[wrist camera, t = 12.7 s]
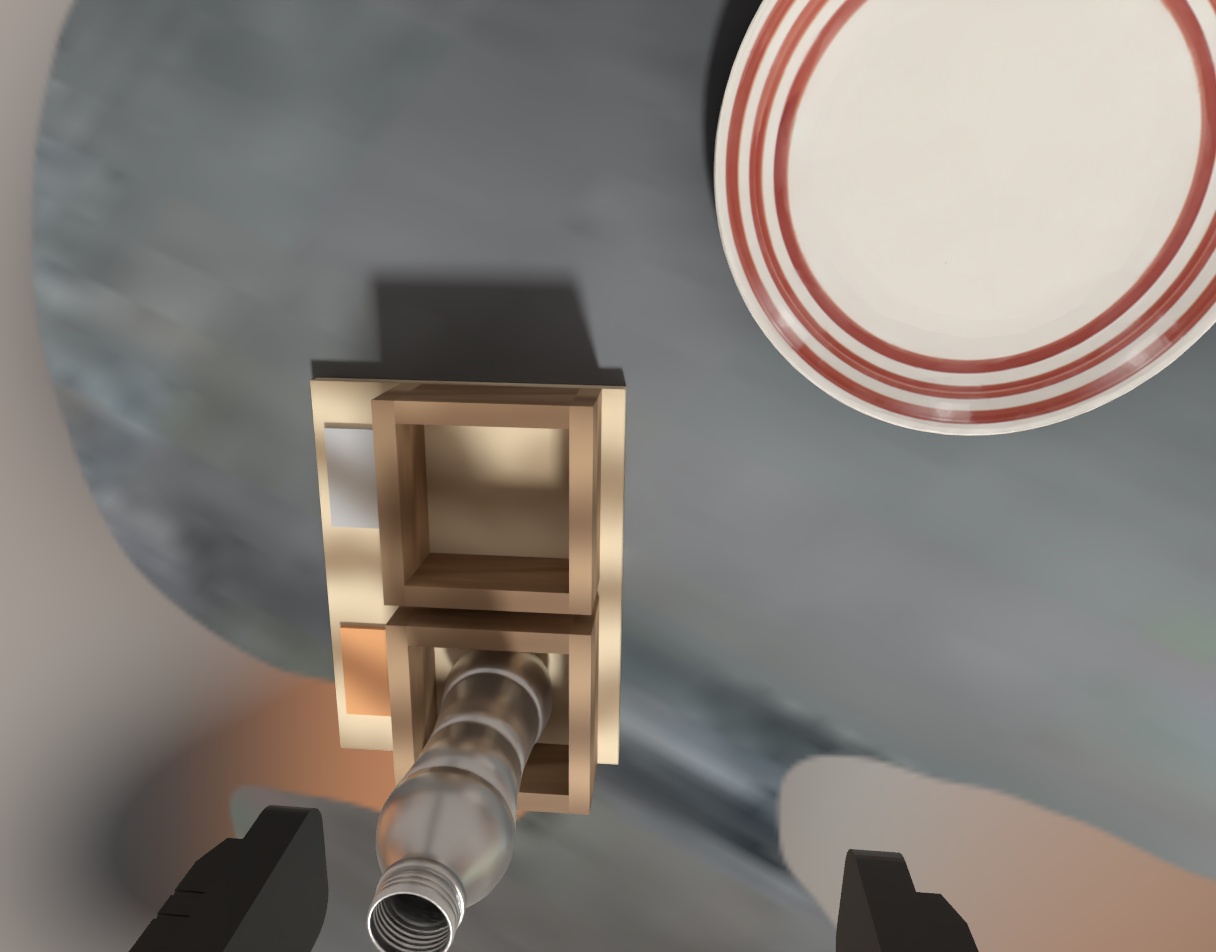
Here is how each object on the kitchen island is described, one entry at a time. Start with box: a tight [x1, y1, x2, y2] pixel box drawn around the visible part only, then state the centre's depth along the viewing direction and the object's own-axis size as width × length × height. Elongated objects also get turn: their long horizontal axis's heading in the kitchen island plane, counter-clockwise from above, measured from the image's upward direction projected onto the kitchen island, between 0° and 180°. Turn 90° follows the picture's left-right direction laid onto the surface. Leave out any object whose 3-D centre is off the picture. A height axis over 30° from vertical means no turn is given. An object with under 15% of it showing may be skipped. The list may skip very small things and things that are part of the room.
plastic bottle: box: [367, 649, 552, 952], centre depth 44 cm, size 6×7×20 cm
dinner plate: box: [714, 0, 1216, 435], centre depth 43 cm, size 27×27×3 cm
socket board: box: [310, 378, 626, 815], centre depth 50 cm, size 24×18×6 cm
